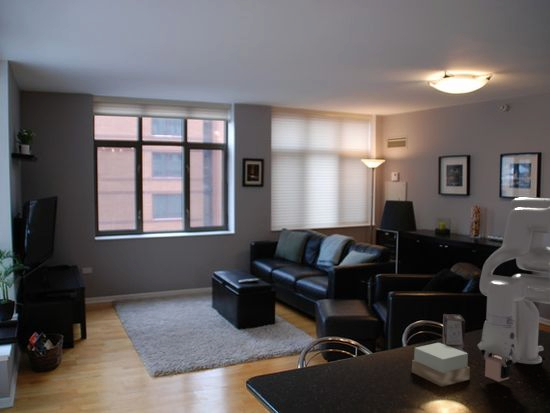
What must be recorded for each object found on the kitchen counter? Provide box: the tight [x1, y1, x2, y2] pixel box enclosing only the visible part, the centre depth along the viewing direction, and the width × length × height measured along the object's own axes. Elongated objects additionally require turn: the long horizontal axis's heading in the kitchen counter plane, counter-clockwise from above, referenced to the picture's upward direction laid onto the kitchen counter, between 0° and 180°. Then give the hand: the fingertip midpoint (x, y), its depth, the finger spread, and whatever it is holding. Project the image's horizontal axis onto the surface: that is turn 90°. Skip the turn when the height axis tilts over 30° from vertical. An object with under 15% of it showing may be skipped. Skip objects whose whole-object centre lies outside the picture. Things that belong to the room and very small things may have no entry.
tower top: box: [413, 342, 469, 373], centre depth 162 cm, size 12×12×4 cm
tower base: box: [411, 359, 471, 388], centre depth 163 cm, size 13×13×4 cm
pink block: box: [484, 354, 510, 383], centre depth 157 cm, size 5×5×6 cm
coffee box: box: [441, 313, 466, 352], centre depth 176 cm, size 9×6×16 cm
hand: (497, 373), depth 157 cm, fingers closed on pink block, 5 cm apart
